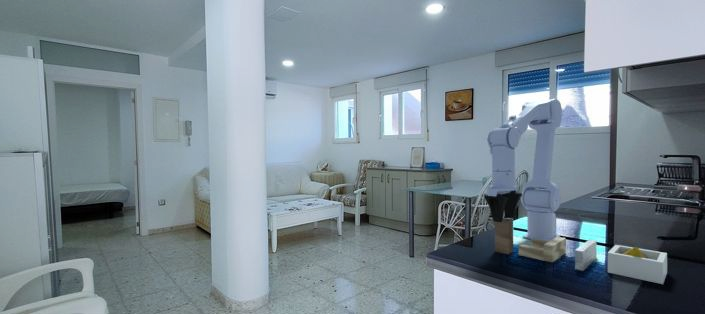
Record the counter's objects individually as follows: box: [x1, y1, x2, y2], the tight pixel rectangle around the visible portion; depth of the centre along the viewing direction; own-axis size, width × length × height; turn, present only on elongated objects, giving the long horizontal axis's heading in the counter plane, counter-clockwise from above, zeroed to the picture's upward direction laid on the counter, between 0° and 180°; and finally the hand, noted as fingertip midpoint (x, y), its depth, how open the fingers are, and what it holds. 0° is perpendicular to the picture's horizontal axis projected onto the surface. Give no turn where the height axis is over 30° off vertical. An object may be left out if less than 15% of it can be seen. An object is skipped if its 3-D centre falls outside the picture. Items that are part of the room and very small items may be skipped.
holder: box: [607, 244, 668, 285], centre depth 71 cm, size 9×9×4 cm
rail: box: [574, 239, 598, 272], centre depth 77 cm, size 13×2×4 cm, turn 131°
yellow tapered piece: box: [620, 246, 649, 259], centre depth 71 cm, size 5×5×10 cm
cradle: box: [518, 236, 567, 263], centre depth 85 cm, size 11×8×4 cm
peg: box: [494, 217, 514, 255], centre depth 88 cm, size 4×4×9 cm
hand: (503, 219), depth 87 cm, fingers open, 7 cm apart
